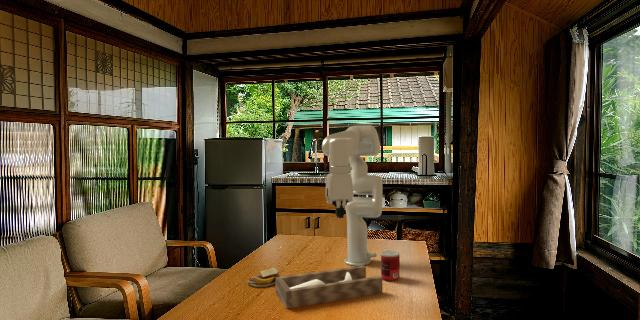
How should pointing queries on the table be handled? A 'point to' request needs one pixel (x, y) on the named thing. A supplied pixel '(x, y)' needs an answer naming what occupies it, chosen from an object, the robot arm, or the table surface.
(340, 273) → the walnut U-rest
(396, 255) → the canned food
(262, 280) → the toy sandwich meal
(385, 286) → the table surface
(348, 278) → the champagne flute
